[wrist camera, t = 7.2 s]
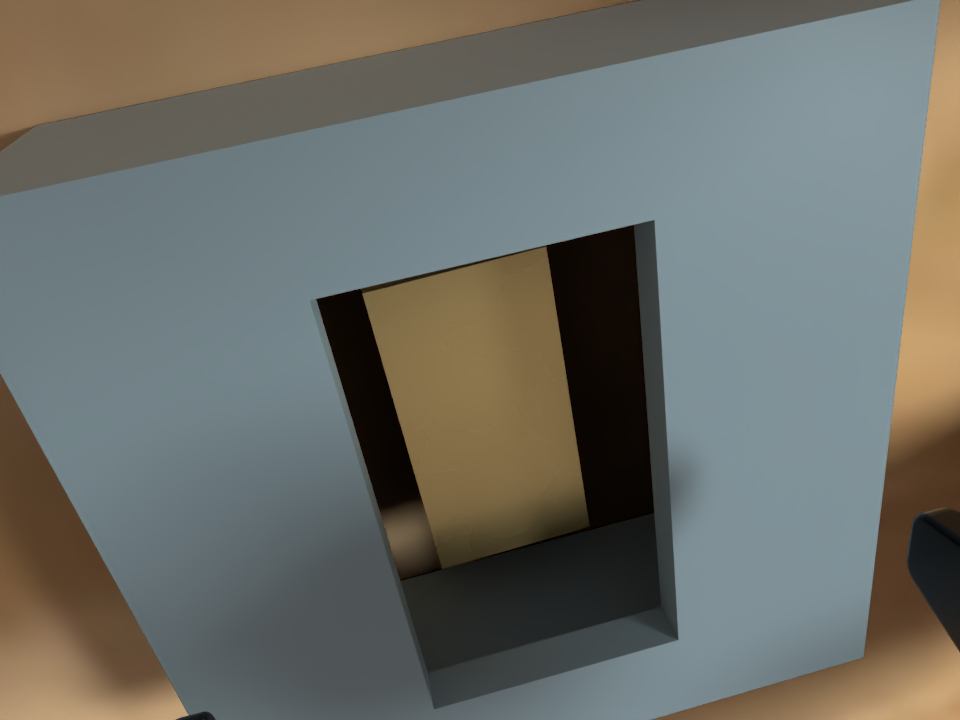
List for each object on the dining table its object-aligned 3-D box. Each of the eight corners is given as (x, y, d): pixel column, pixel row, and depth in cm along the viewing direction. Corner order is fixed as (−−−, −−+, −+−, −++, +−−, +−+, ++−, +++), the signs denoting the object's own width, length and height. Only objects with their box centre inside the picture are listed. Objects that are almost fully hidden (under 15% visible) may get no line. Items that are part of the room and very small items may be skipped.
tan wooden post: (509, 200, 15) (546, 246, 13) (554, 454, 18) (589, 526, 16) (352, 240, 14) (362, 293, 12) (424, 490, 17) (442, 569, 15)
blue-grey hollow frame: (755, -24, 13) (941, -7, 10) (751, 512, 19) (863, 657, 16) (35, 125, 12) (-87, 215, 8) (265, 643, 18) (255, 835, 14)
